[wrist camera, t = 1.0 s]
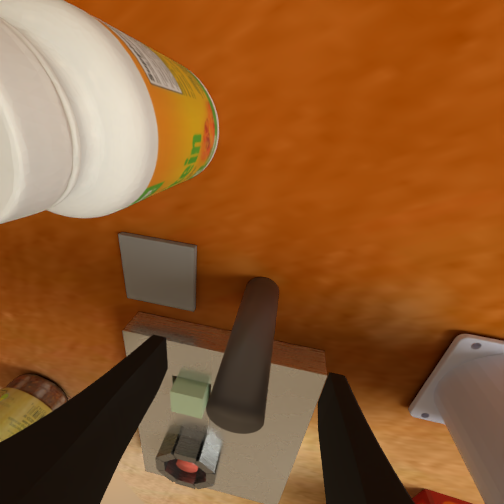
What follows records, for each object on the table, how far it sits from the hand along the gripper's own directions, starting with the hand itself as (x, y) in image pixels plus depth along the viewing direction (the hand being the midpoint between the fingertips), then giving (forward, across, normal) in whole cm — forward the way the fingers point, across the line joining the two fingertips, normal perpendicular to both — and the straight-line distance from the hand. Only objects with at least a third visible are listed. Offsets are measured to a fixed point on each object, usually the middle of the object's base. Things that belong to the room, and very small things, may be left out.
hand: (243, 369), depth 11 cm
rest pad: (+6, +7, 0) cm, 9 cm away
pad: (+5, +4, +9) cm, 11 cm away
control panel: (+6, +2, +14) cm, 15 cm away
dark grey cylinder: (+6, 0, 0) cm, 6 cm away
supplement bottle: (+6, +6, -9) cm, 12 cm away
